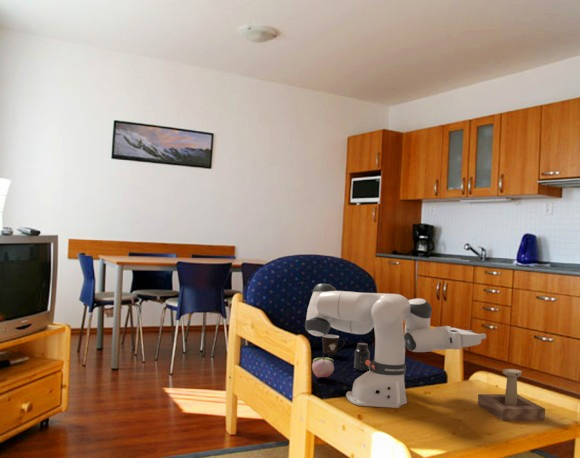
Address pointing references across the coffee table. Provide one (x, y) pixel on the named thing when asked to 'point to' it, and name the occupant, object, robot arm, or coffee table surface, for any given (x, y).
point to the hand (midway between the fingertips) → (478, 334)
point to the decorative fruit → (322, 367)
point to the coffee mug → (331, 344)
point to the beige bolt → (511, 386)
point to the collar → (511, 408)
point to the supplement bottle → (361, 356)
